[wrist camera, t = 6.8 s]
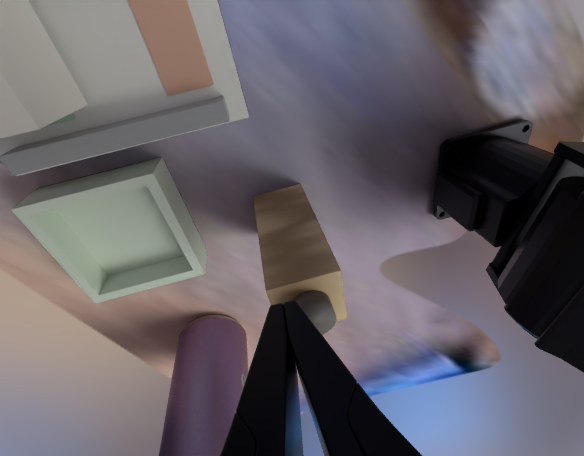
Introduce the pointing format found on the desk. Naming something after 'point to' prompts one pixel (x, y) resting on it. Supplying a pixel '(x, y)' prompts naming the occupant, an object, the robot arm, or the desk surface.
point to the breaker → (31, 73)
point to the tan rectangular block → (298, 257)
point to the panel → (132, 78)
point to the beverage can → (205, 387)
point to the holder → (117, 230)
